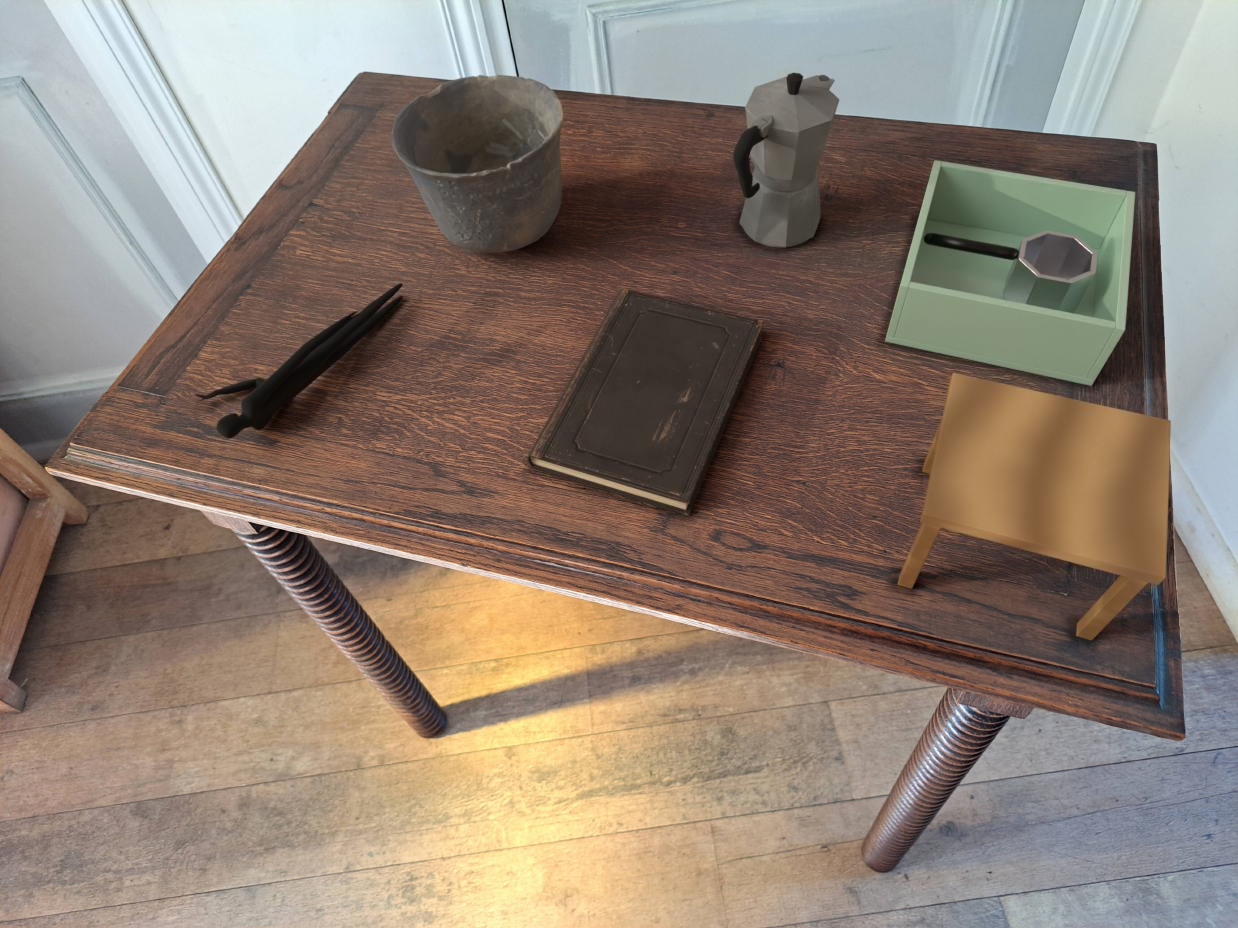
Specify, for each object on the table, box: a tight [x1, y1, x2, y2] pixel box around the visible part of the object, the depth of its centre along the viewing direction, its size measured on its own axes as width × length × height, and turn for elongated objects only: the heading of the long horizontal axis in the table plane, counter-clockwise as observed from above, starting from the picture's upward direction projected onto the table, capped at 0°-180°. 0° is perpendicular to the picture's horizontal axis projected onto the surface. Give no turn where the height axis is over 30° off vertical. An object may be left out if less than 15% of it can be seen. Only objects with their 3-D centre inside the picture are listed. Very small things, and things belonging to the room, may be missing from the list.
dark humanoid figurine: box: [194, 282, 404, 439], centre depth 89 cm, size 8×9×25 cm
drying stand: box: [897, 372, 1172, 641], centre depth 68 cm, size 16×14×12 cm
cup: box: [390, 74, 564, 254], centre depth 94 cm, size 18×18×15 cm
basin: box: [884, 159, 1136, 387], centre depth 86 cm, size 20×20×8 cm
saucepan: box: [924, 230, 1097, 313], centre depth 87 cm, size 16×7×6 cm, turn 69°
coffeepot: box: [732, 72, 840, 248], centre depth 90 cm, size 15×9×18 cm, turn 137°
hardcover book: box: [527, 288, 765, 516], centre depth 84 cm, size 16×23×2 cm
